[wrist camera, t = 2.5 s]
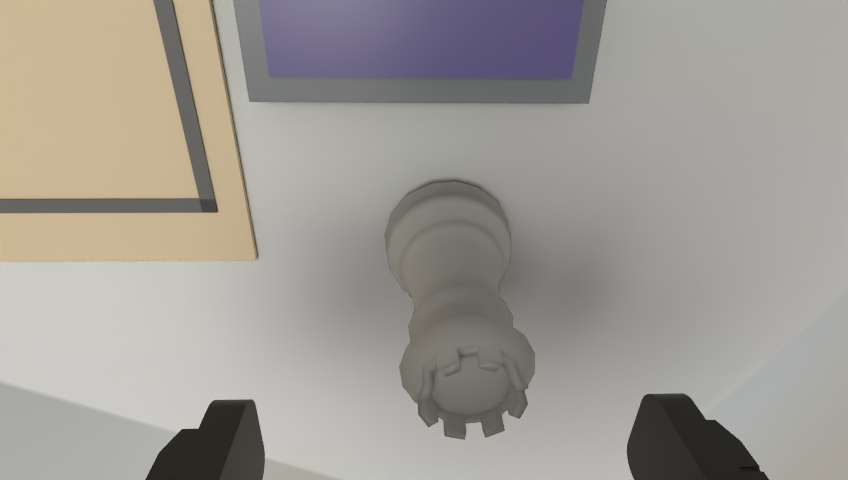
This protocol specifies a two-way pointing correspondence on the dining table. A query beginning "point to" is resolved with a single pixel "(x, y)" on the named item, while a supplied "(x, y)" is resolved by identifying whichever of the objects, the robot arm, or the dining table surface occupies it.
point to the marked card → (117, 134)
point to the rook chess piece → (458, 308)
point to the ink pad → (420, 50)
